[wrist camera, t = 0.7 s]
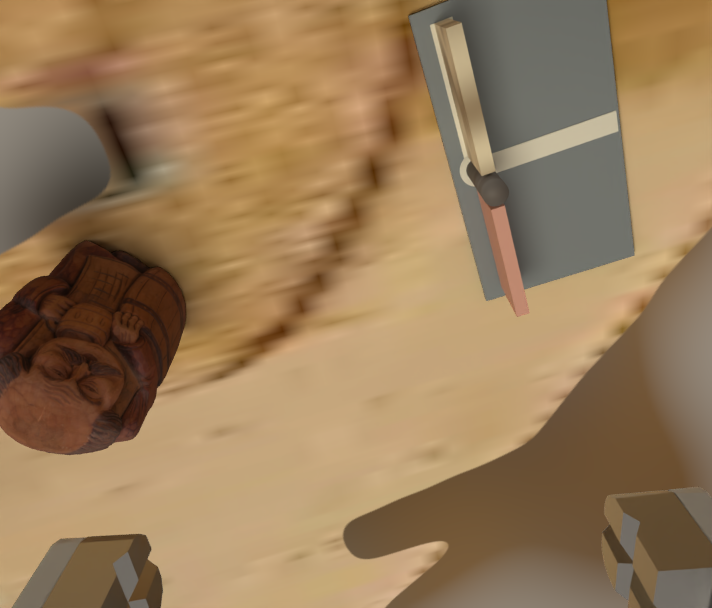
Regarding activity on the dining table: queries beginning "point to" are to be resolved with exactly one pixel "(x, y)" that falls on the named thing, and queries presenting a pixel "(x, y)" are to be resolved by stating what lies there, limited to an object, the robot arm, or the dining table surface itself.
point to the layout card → (537, 131)
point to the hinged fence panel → (505, 255)
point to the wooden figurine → (87, 351)
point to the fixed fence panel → (470, 113)
